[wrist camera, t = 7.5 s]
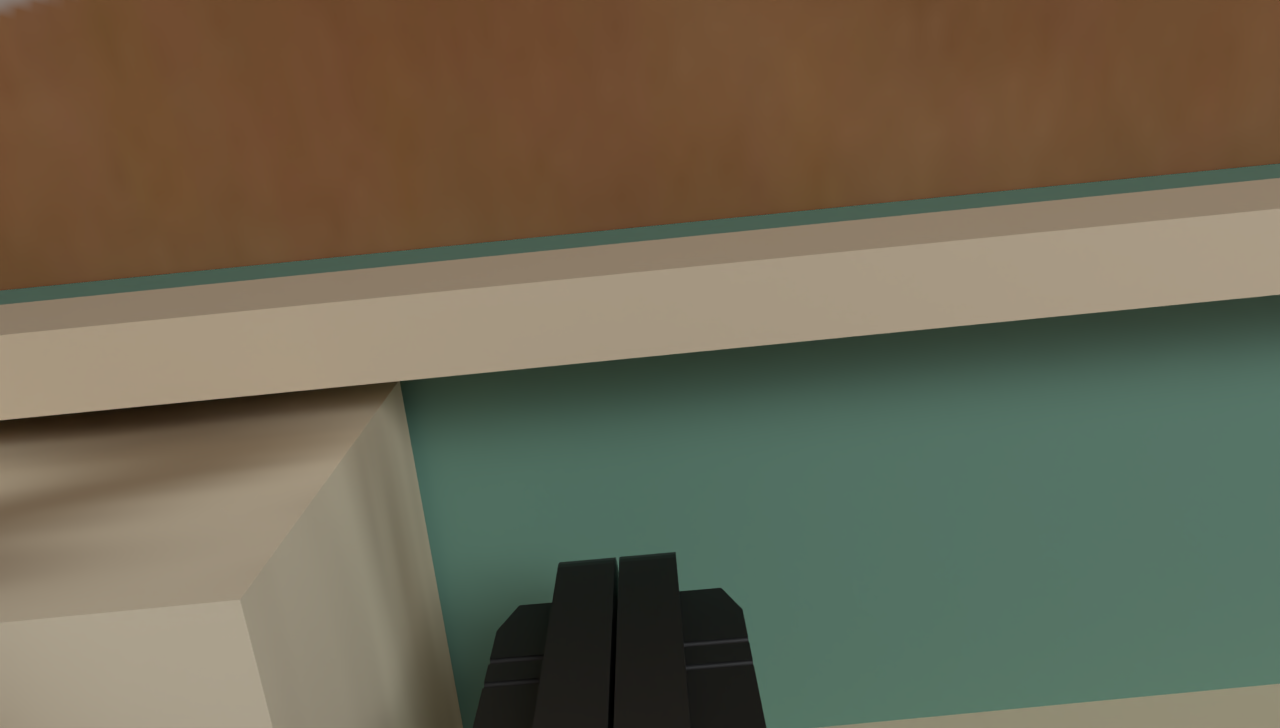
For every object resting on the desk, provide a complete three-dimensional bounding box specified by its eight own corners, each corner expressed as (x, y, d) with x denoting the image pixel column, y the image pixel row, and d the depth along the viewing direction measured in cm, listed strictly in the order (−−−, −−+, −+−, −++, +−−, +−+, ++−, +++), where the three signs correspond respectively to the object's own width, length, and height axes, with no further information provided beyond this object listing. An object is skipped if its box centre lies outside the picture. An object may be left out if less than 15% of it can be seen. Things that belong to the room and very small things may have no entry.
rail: (1470, 144, 13) (2148, 198, 7) (1381, 674, 16) (1829, 1024, 10) (-172, 308, 14) (-786, 486, 8) (11, 804, 16) (-339, 1223, 10)
